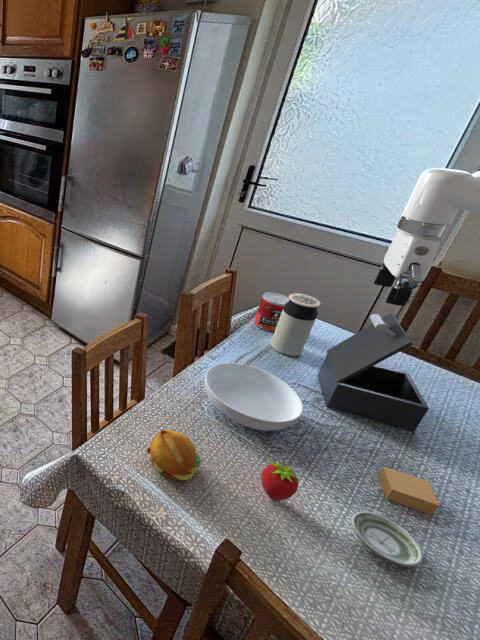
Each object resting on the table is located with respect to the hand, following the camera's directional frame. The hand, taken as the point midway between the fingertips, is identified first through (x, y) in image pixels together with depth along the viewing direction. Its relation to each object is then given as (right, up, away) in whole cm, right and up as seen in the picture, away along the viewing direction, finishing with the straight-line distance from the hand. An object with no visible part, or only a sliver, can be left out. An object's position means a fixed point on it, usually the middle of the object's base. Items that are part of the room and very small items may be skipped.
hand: (388, 294), depth 97 cm
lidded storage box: (+5, -30, +12) cm, 32 cm away
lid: (+2, -15, +7) cm, 16 cm away
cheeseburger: (-54, -38, -4) cm, 66 cm away
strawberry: (-36, -41, -11) cm, 56 cm away
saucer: (-22, -45, -20) cm, 54 cm away
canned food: (+3, -15, +43) cm, 46 cm away
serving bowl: (-27, -31, +10) cm, 43 cm away
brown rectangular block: (-8, -41, -11) cm, 43 cm away
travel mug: (+1, -20, +32) cm, 38 cm away
